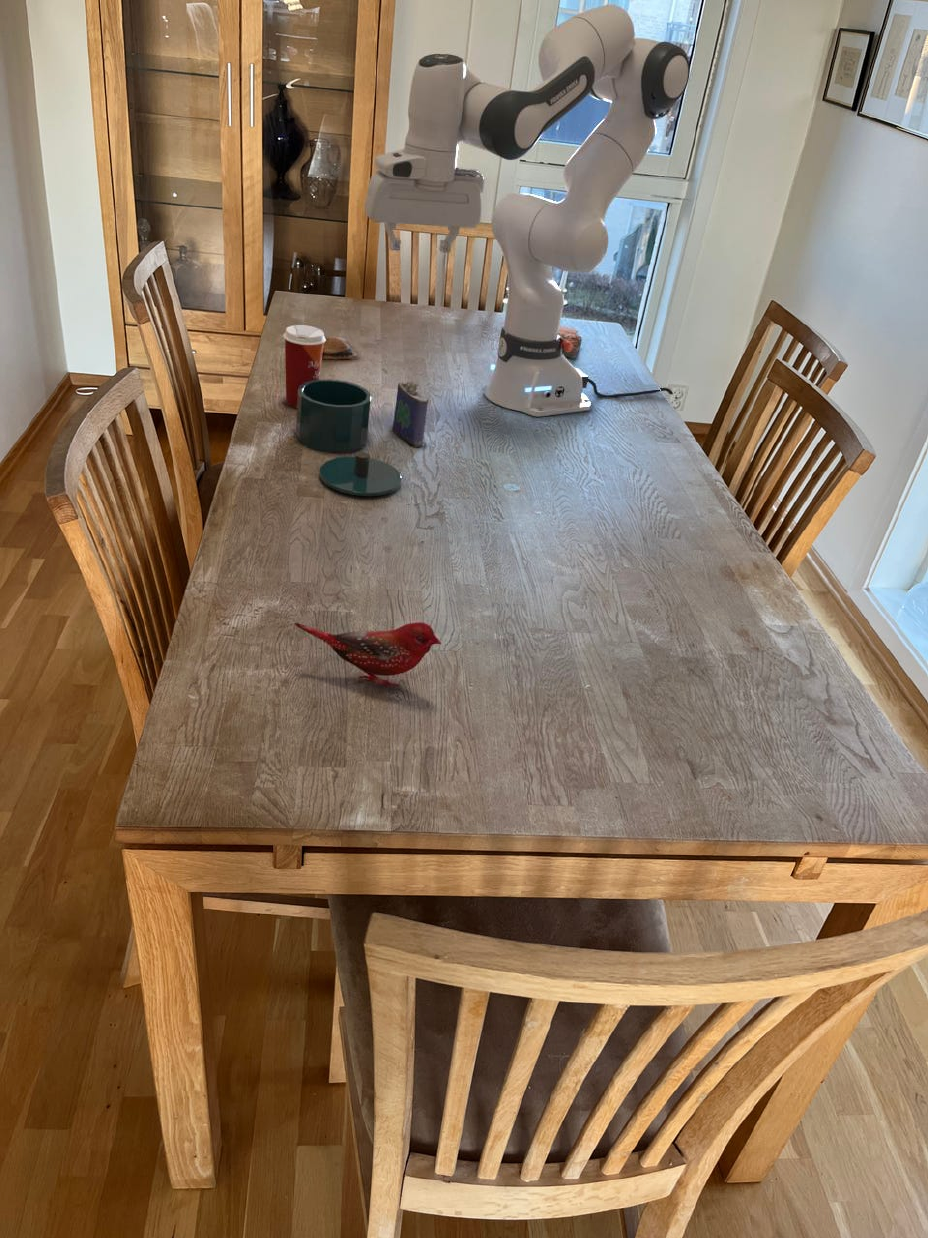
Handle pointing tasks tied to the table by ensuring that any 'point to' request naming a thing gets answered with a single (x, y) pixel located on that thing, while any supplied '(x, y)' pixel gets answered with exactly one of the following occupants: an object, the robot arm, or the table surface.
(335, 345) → the bread roll
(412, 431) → the flask
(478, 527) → the table surface
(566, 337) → the pottery shard
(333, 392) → the pot
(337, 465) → the pot lid
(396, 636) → the decorative bird figurine
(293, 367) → the paper cup
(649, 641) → the table surface
